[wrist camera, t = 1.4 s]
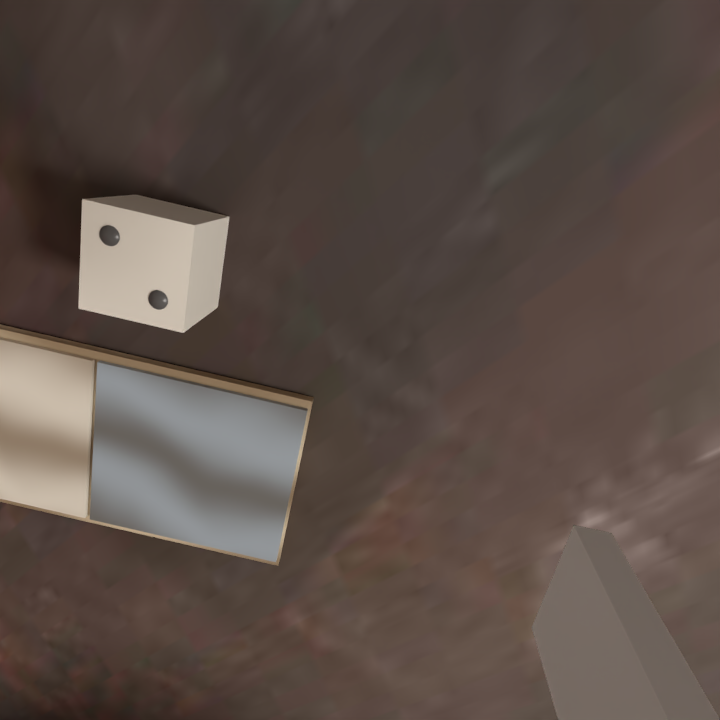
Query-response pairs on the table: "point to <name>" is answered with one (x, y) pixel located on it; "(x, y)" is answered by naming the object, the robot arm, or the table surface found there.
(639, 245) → the table surface
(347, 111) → the table surface
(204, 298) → the die
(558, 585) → the robot arm
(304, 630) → the table surface
